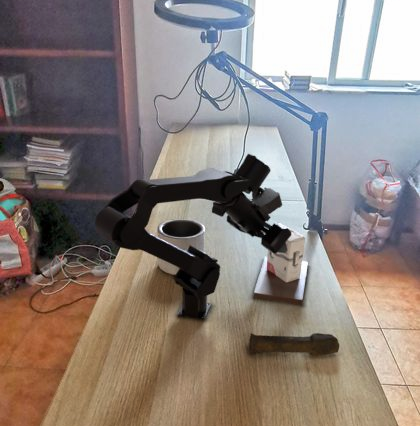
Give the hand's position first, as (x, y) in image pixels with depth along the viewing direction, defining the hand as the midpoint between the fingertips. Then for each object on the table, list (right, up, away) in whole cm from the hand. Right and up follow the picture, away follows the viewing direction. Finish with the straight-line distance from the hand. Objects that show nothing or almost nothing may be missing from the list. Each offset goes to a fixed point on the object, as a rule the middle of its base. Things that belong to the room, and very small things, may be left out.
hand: (274, 243), depth 121 cm
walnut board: (+3, -9, +7) cm, 12 cm away
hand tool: (+2, -25, -17) cm, 30 cm away
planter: (-24, -4, +12) cm, 27 cm away
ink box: (+3, -7, +7) cm, 11 cm away
